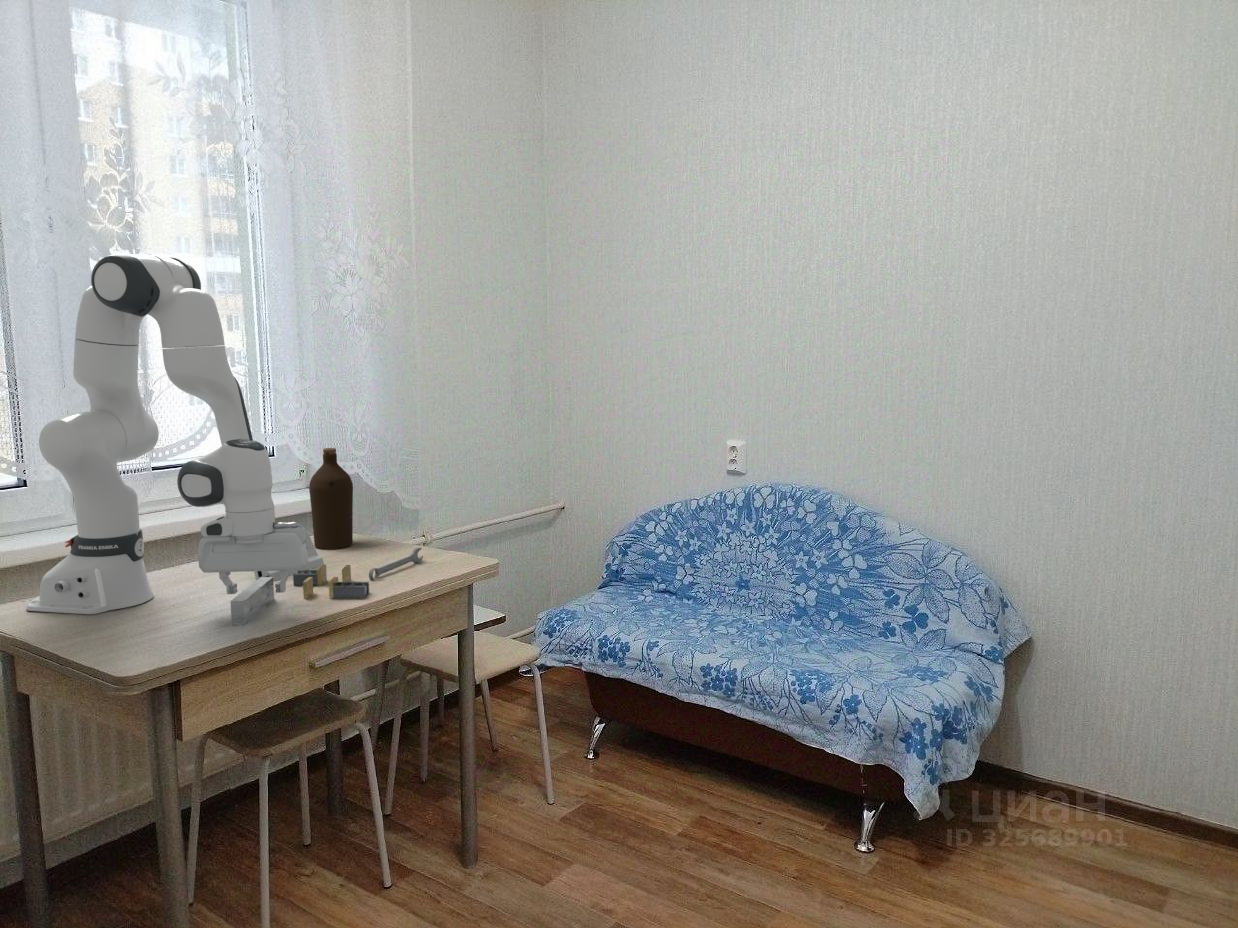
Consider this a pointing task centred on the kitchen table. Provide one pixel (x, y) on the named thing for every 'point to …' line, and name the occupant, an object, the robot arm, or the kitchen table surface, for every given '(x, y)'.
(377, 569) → the combination wrench
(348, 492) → the olive oil
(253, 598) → the long grey beam
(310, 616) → the kitchen table surface
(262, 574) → the hinge
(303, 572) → the ball bearing track
